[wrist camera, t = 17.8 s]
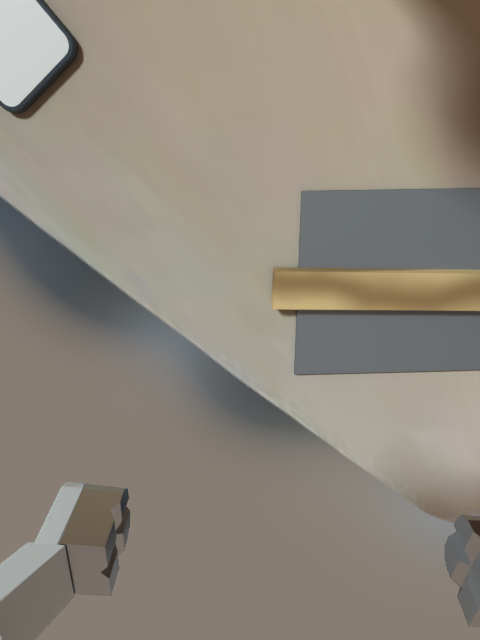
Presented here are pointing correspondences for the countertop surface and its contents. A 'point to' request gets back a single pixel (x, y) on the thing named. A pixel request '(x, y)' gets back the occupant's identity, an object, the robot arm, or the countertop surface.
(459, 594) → the robot arm
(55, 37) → the phone case
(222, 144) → the countertop surface
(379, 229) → the rubber mat
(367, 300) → the ochre block
